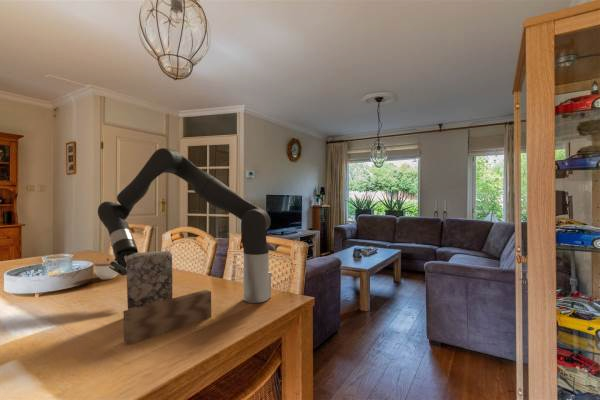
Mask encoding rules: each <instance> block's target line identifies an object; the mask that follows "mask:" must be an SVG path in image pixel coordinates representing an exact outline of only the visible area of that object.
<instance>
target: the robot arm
mask: <svg viewBox="0 0 600 400" xmlns="http://www.w3.org/2000/svg"><path fill="white" fill-rule="evenodd" d="M164 173H166V174H172V175H175V176H177V177H179V178H180V179H182V180H183V181H185V182H186V183H187V184H188V185H189V186H190V187H191V189H192V190H193V191H194V193H195V194H196V195H197V196H199V197H200V198H201V199H203V200H204V201H205V202H207V203H208V204H210V205H211V206H213V207H215V208H216V209H217V208H218V209H220V210H221V211H224V212H228V213H229V214H231V215H234V216H235V217H237V218H238V219H239V220H240V221H241V222H240V233H241V235H240V237H241V246H242V249H243V301H244V302H246V303H250V304H258V303H264V302H266V301H268V300H269V299H270V298H272V273H271V271H270V261H269V259H270V254H269V253H270V252H269V250H270V247H269V244H268V243H267V241H268V240H267V230H269V228H270V226H271V224H272V223H271V221H272V220H271V217H270V215H269V214H268V212H267V211H266V210H264V209H263V208H261V207H259V206H257V205H255V204H253V203H251V202H249V200H246V199H245V198H243V197H242V196H241V195H239V194H238V193H236V191H234V190H233V189H232V188H231V187H229V186H227V185H226V184H224V183H223V182H222V181H220V180H219V179H218V178H216V177H215V176H214V175H212V174H209V173H208V172H207V171H204V170H203V169H201V168H200V167H198V166H196V165H195V164H194V163H193V162H191V160H189V159H188V158H187V157H185V156H184V154H182V153H181V152H180V151H177V150H174V149H171V148H166V147H165V148H164V147H161V148H158V149H157V150H155V151H154V153H152V154H151V156H150V157H149V158H148V160H147V161H146V163H145V164H144V166H143V167H142V168H141V170H140V171H139V172H138V173H137V175H136V176H135V178H133V180H131V182H130V183H129V184H127V186H125V187H124V188H123V189H122V190H121V191H120V192H119V193H118V194H117V196H116V200H117V202H118V203H116V202H112V201H104V202H101V203H100V204H99V205H98V209H97V215H98V218H99V220H100V221H101V223H102V224H103V225H104V227H105V228H106V229H107V231H108V235H109V238H110V245H111V248H112V252H113V255H114V259H115V261H114V262H111V263H110V266H109V268H111V269H112V270H114V271H115V272H117V273H118V275H120V276H127V271H126V260H127V257H128V256H129V255H132V254H134V253H139V250H138V247H137V244H136V241H135V237H134V235H133V233H132V231H131V229H130V226H129V223H128V222H127V221H126V220H127V219H128V217H129V215H130V214H131V211H132V210H133V208H134V207H135V205H136V204H137V203H138V202H139V201H140V200H142V199H143V198H144V196H145V195H146V194H147V193H148V191H149V188H150V186H151V184H152V183H153V182H154V181H155V179H157V178H158V177H160V176H161V175H163V174H164ZM118 264H119V265H118Z"/></svg>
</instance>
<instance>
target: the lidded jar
mask: <svg viewBox="0 0 600 400" xmlns="http://www.w3.org/2000/svg"><path fill="white" fill-rule="evenodd" d="M114 261H115V258H112V259H110V257H106V259H102V260H98V261H95V262H94V271H95V274H96V276H97V277H98V278H99V279H100V280H111V279H114V278H116V277H117V275H119V273H117V272H115V271H114V270H112V269H111V268H109V266H110V263H111V262H114ZM118 265H119V264H118Z"/></svg>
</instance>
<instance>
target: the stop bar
mask: <svg viewBox="0 0 600 400" xmlns="http://www.w3.org/2000/svg"><path fill="white" fill-rule="evenodd" d="M122 312H123V314H122V315H123V342H124V344H126V345H127V346H131V345H132V344H135V343H138V342H141V341H144V340H147V339H150V338H153V337H156V336H159V335H162V334H165V333H168V332H170V331H174V330H177V329H180V328H183V327H186V326H189V325H191V324H195V323H198V322H200V321H203V320H206V319H208V318H209V319H210V318H212V291H211V290H208V289H203V290H199V291H196V292H192V293H189V294H185V295H184V294H183V295H181V296H176V297H174V298H173V297H172V299H168V300H164V301H160V302H156V303H153V304H149V305H145V306H141V307H137V308H133V309H130V310H128V309H126V310H123V311H122Z"/></svg>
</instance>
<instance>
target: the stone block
mask: <svg viewBox="0 0 600 400" xmlns="http://www.w3.org/2000/svg"><path fill="white" fill-rule="evenodd" d="M126 271H127V275H126V293H127V294H126V295H127V296H126V297H127V310H130V309H133V308H137V307H141V306H145V305H149V304H153V303H156V302H160V301H164V300H168V299H172V298H173V283H174V282H173V253H172V252H171V251H170V250H165V251H164V250H163V251H162V250H160V251H159V250H158V251H157V250H155V251H146V252H138V253H134V254H132V255H129V256H128V257H127V260H126Z"/></svg>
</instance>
